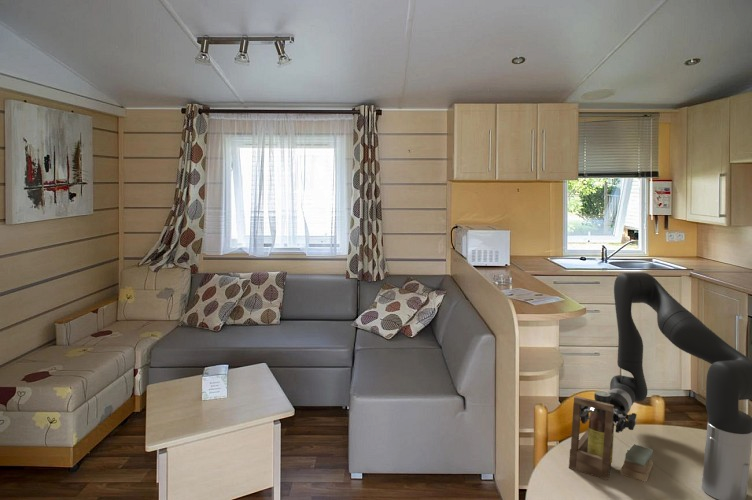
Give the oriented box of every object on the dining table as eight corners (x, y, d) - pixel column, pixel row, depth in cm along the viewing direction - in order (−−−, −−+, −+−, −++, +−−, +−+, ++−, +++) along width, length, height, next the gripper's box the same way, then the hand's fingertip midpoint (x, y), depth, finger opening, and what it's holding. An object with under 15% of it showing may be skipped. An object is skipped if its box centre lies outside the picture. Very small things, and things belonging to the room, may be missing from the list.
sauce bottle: (613, 473, 143) (619, 399, 141) (588, 470, 144) (593, 397, 142) (608, 460, 150) (613, 390, 147) (584, 458, 151) (588, 388, 148)
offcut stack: (652, 467, 147) (654, 448, 146) (645, 482, 139) (647, 462, 139) (627, 460, 150) (628, 442, 150) (619, 474, 143) (621, 455, 142)
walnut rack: (621, 456, 152) (626, 388, 150) (607, 480, 140) (612, 406, 137) (585, 446, 158) (589, 380, 155) (568, 467, 146) (572, 397, 143)
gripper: (590, 386, 161) (573, 404, 148) (643, 398, 153) (630, 418, 140) (588, 411, 162) (571, 430, 149) (641, 424, 154) (628, 446, 141)
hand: (600, 424), depth 144 cm, fingers open, 8 cm apart
